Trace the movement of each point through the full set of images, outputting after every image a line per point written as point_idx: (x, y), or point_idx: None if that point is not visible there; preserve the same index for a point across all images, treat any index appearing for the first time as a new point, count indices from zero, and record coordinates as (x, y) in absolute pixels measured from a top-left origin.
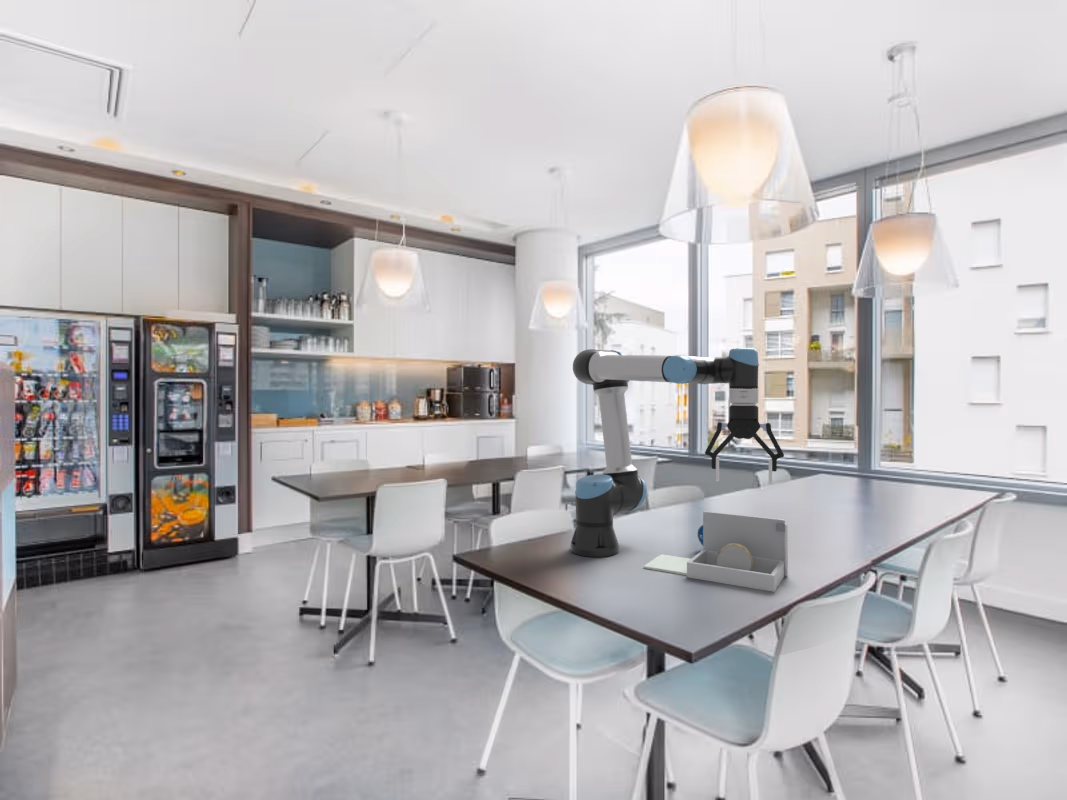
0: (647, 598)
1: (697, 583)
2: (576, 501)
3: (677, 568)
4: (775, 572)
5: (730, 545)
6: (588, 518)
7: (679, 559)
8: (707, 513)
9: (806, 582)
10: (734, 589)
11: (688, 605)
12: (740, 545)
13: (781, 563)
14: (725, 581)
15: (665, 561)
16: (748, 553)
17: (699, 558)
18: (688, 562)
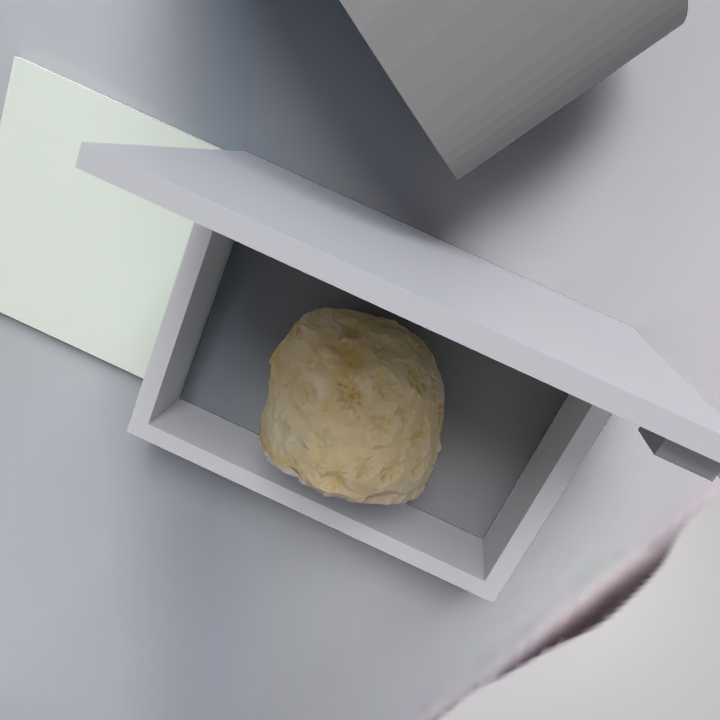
0: (40, 627)
1: (200, 477)
2: None
3: (112, 318)
4: (515, 559)
5: (306, 484)
6: None
7: None
8: (119, 185)
9: None
10: (337, 536)
11: (166, 680)
12: (364, 484)
13: (602, 416)
14: None
15: (50, 203)
16: (407, 493)
17: (192, 306)
18: (133, 432)
